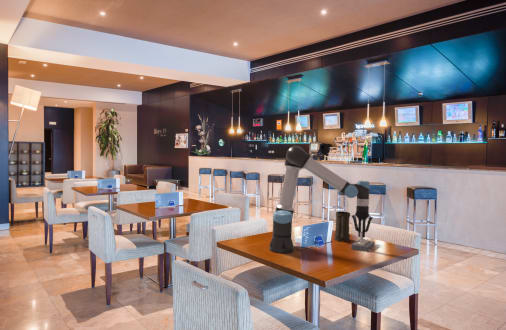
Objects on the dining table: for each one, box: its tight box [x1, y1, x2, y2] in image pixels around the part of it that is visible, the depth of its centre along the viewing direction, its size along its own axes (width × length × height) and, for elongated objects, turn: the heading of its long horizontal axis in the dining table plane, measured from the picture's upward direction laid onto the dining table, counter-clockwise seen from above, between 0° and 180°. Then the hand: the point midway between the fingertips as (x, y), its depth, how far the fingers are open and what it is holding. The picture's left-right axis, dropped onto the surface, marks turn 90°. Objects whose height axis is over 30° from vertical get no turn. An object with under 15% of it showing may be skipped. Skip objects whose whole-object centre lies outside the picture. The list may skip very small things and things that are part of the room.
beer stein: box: [333, 210, 351, 242], centre depth 247 cm, size 15×11×20 cm
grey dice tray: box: [350, 238, 376, 253], centre depth 229 cm, size 10×18×3 cm, turn 148°
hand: (361, 242), depth 224 cm, fingers closed
